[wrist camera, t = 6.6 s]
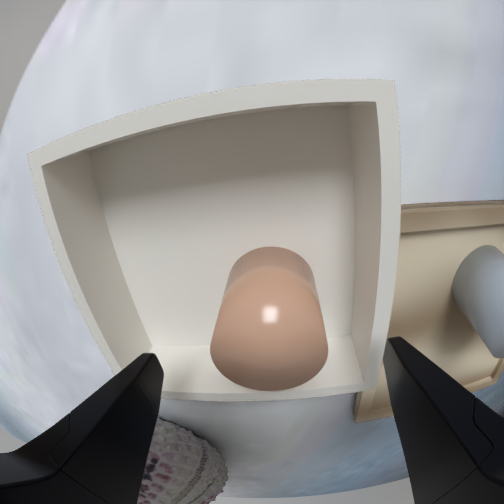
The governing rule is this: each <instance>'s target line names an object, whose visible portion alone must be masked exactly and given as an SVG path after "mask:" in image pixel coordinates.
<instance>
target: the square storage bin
mask: <svg viewBox="0 0 504 504" xmlns="http://www.w3.org/2000/svg"><path fill="white" fill-rule="evenodd" d="M27 156H28V161H29V166H30V170H31V175H32V179H33V183H34V187H35V191H36V195H37V198H38V202H39V206H40V209H41V212H42V216H43V219H44V222H45V225H46V228H47V231H48V234H49V237H50V240H51V243H52V246H53V249H54V251H55V254H56V257H57V259H58V262H59V265H60V267H61V270H62V272H63V274H64V277H65V279H66V282H67V284H68V286H69V289H70V291H71V293H72V295H73V298H74V300H75V302H76V304H77V306H78V308H79V310H80V313H81V315H82V317H83V319H84V321H85V323H86V325H87V327H88V329H89V330H90V332H91V334H92V336H93V338H94V340H95V342H96V344H97V345H98V347H99V349H100V351H101V353H102V354H103V356H104V358H105V360H106V361H107V363H108V365H109V366H110V368H111V370H112V371H113V373H114V375H116V374H118V373H119V372H120V371H121V370H123V369H124V368H125V367H126V366H127V365H129V364H130V363H131V362H132V361H133V360H135V359H136V358H137V357H138V356H140V355H141V354H142V353H154V354H156V356H157V358H158V360H159V362H160V364H161V366H162V368H163V371H164V380H163V386H162V393H161V398H162V399H175V400H192V401H231V402H233V401H273V400H289V399H302V398H313V397H323V396H331V395H339V394H346V393H353V392H360V391H366V390H372V389H375V388H376V384H377V380H378V376H379V372H380V367H381V363H382V358H383V354H384V349H385V344H386V339H387V333H388V328H389V322H390V316H391V310H392V303H393V296H394V288H395V280H396V271H397V261H398V250H399V236H400V218H401V149H400V131H399V117H398V106H397V97H396V89H395V81H394V80H381V79H319V80H301V81H288V82H277V83H268V84H260V85H252V86H245V87H238V88H232V89H226V90H220V91H215V92H210V93H205V94H200V95H195V96H190V97H186V98H182V99H177V100H173V101H169V102H165V103H162V104H158V105H154V106H151V107H147V108H144V109H140V110H137V111H134V112H130V113H127V114H124V115H121V116H118V117H115V118H112V119H109V120H106V121H103V122H101V123H98V124H95V125H92V126H90V127H87V128H85V129H82V130H79V131H77V132H75V133H72V134H70V135H67V136H65V137H63V138H60V139H58V140H56V141H54V142H51V143H49V144H47V145H45V146H43V147H41V148H38V149H36V150H34V151H32V152H30V153H28V154H27ZM272 246H273V247H281V248H285V249H288V250H291V251H293V252H295V253H297V254H298V255H300V256H301V257H302V258H303V259H304V260H305V261H306V262H307V263H308V264H309V266H310V268H311V270H312V272H313V275H314V279H315V283H316V288H317V293H318V297H319V302H320V307H321V312H322V317H323V322H324V327H325V332H326V337H327V342H328V357H327V360H326V363H325V365H324V367H323V368H322V369H321V371H320V372H319V373H318V374H317V375H316V376H315V377H313V378H312V379H311V380H309V381H307V382H306V383H304V384H302V385H299V386H297V387H294V388H290V389H286V390H281V391H259V390H253V389H249V388H246V387H243V386H240V385H238V384H236V383H234V382H232V381H230V380H229V379H227V378H226V377H225V376H224V375H222V374H221V373H220V372H219V370H218V369H217V368H216V366H215V365H214V363H213V361H212V358H211V354H210V345H211V340H212V336H213V332H214V328H215V325H216V321H217V317H218V313H219V310H220V306H221V302H222V298H223V295H224V291H225V287H226V283H227V280H228V276H229V273H230V270H231V268H232V266H233V265H234V264H235V262H236V261H237V260H238V259H239V258H240V257H241V256H243V255H244V254H246V253H247V252H249V251H252V250H254V249H257V248H261V247H272Z"/></svg>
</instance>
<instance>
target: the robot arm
mask: <svg viewBox="0 0 504 504" xmlns="http://www.w3.org/2000/svg"><path fill="white" fill-rule="evenodd" d="M383 365H384V370H385V375H386V380H387V386H388V392H389V398H390V403H391V407H392V411H393V415H394V418H395V422H396V425H397V429H398V433H399V436H400V440H401V444H402V448H403V452H404V456H405V460H406V465H407V469H408V473H409V478H410V482H411V487H412V492H413V497H414V502H415V504H504V418H503V417H501V416H500V415H499V414H497V413H496V412H494V411H493V410H492V409H491V408H489V407H488V406H487V405H486V404H484V403H483V402H482V401H481V400H479V399H478V398H475V396H474V395H473V394H472V393H471V392H470V391H468V390H467V389H466V388H465V387H464V386H462V385H461V384H460V383H459V382H457V381H456V380H455V379H454V378H452V377H451V376H450V375H449V374H448V373H446V372H445V371H444V370H443V369H441V368H440V367H439V366H438V365H436V364H435V363H434V362H433V361H431V360H430V359H429V358H428V357H426V356H425V355H424V354H422V353H421V352H420V351H419V350H417V349H416V348H415V347H414V346H412V345H411V344H410V343H409V342H407V341H406V340H405V339H403V338H402V337H400V336H395V337H390V338H388V339H387V341H386V345H385V350H384V355H383ZM163 380H164V371H163V368H162V366H161V364H160V362H159V360H158V358H157V356H156V354H154V353H142V354H141V355H140V356H138V357H137V358H136V359H135V360H133V361H132V362H131V363H130V364H129V365H127V366H126V367H125V368H124V369H123V370H121V371H120V372H119V373H118V374H116V375H115V376H114V377H113V378H112V379H110V380H109V381H108V382H107V383H105V384H104V385H103V386H102V387H101V388H99V389H98V390H97V391H96V392H94V393H93V394H92V395H91V396H90V397H88V398H87V399H86V400H85V401H83V402H82V403H81V404H80V405H79V406H77V407H76V408H75V409H74V410H72V411H71V412H70V413H69V414H67V415H66V416H65V417H64V418H62V419H61V420H60V421H59V422H57V423H56V424H55V425H53V426H52V427H51V428H49V429H48V430H46V431H45V432H43V433H42V434H41V435H39V436H37V437H36V438H34V439H33V440H31V441H30V442H28V443H27V444H25V445H24V446H22V447H20V448H19V449H17V450H15V451H12V452H9V453H0V504H137V502H138V497H139V492H140V488H141V483H142V479H143V475H144V470H145V466H146V462H147V458H148V454H149V450H150V445H151V441H152V437H153V434H154V430H155V426H156V422H157V418H158V413H159V407H160V400H161V393H162V386H163Z"/></svg>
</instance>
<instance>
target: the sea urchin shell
mask: <svg viewBox="0 0 504 504" xmlns="http://www.w3.org/2000/svg"><path fill="white" fill-rule="evenodd" d="M227 472H228V471H227V467H226V466H225V460H224V459H222V458H221V453H217V449H216V448H215V447H212V446H210V443H208V442H207V441H206V439H201V437H196V436H195V435H193V433H192V431H186V429H185V428H182V427H181V426H180V425H179V424H173V423H172V422H167V421H163V420H161V419H160V418H159V417H158V418H157V422H156V426H155V430H154V434H153V437H152V441H151V445H150V450H149V454H148V458H147V462H146V466H145V470H144V475H143V479H142V483H141V488H140V492H139V497H138V502H137V504H209V503H210V502H211V501H214V500H215V497H216V496H217V495H218V494H219V493H221V492H223V490H222V488H223V486H225V484H226V483H225V482H226V481H227V480H228V476H227V474H226V473H227Z"/></svg>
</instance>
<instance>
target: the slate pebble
mask: <svg viewBox="0 0 504 504" xmlns="http://www.w3.org/2000/svg"><path fill="white" fill-rule="evenodd" d="M452 297H453V300H454V302H455V303H456V304H457V306H458V307H459V308H460V310H461V311H462V312H463V314H464V315H465V316H466V318H467V319H468V321H469V322H470V323H471V325H472V326H473V328H474V329H475V330H476V332H477V333H478V335H479V336H480V338H481V339H482V341H483V342H484V344H485V345H486V347H487V348H488V350H489V351H490V353H491V354H492V356H493V357H495V358H504V253H503V252H501V251H500V250H499V249H498V248H496V247H495V246H492V245H483V246H480V247H478V248H476V249H475V250H473V251H472V252H471V253H470V254H469V255H468V256H467V257H466V258H465V259H464V260H463V261H462V263H461V264H460V266H459V268H458V269H457V271H456V273H455V276H454V279H453V282H452Z"/></svg>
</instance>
